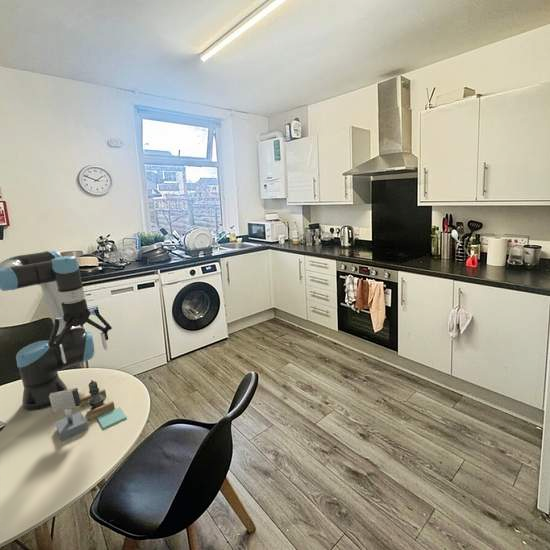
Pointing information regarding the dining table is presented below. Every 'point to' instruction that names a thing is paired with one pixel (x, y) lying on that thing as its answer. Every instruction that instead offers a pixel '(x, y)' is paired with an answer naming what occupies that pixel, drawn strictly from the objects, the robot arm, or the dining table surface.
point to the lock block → (71, 426)
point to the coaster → (111, 418)
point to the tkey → (65, 401)
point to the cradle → (99, 410)
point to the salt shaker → (95, 396)
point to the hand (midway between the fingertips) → (85, 355)
